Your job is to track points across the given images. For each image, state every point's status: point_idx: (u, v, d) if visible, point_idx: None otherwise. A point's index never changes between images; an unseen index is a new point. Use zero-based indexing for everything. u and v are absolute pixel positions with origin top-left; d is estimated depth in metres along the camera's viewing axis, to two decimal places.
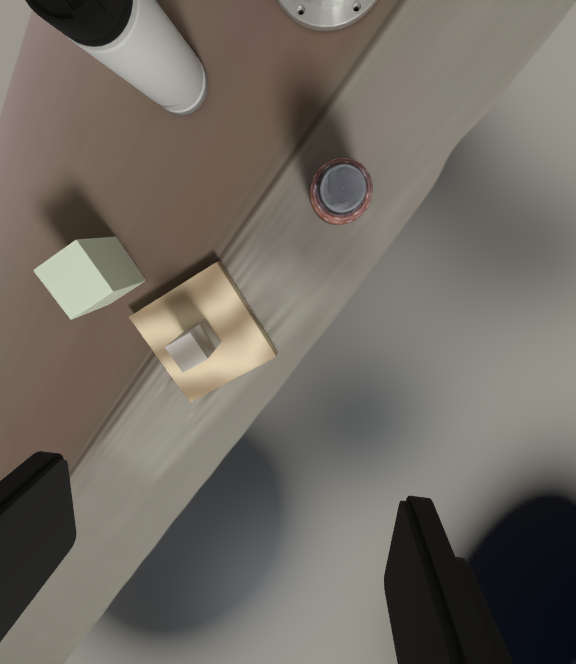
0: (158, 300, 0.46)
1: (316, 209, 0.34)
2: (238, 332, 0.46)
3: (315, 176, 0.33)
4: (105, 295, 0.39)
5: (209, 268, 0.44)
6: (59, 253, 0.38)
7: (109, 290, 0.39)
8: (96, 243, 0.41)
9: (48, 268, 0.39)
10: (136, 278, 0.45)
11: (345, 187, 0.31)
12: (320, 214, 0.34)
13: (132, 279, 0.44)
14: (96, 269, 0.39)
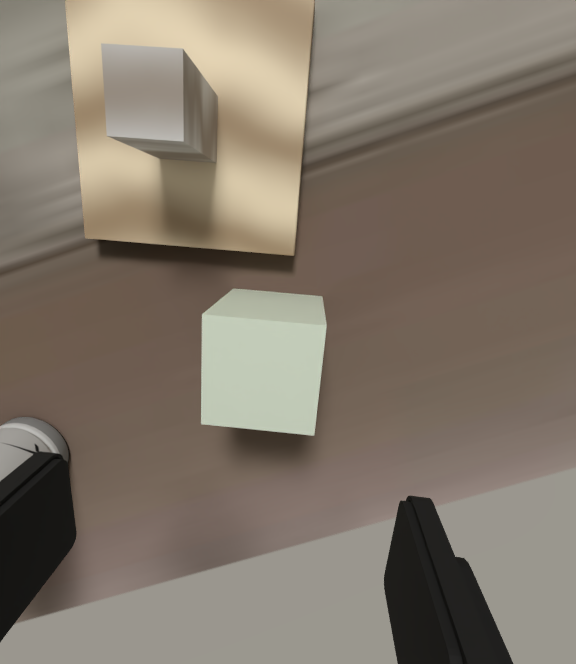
0: (221, 246, 0.24)
1: None
2: None
3: None
4: (222, 318, 0.18)
5: (103, 236, 0.24)
6: (246, 426, 0.20)
7: (208, 321, 0.19)
8: None
9: (285, 421, 0.20)
10: None
11: None
12: None
13: None
14: (203, 366, 0.19)
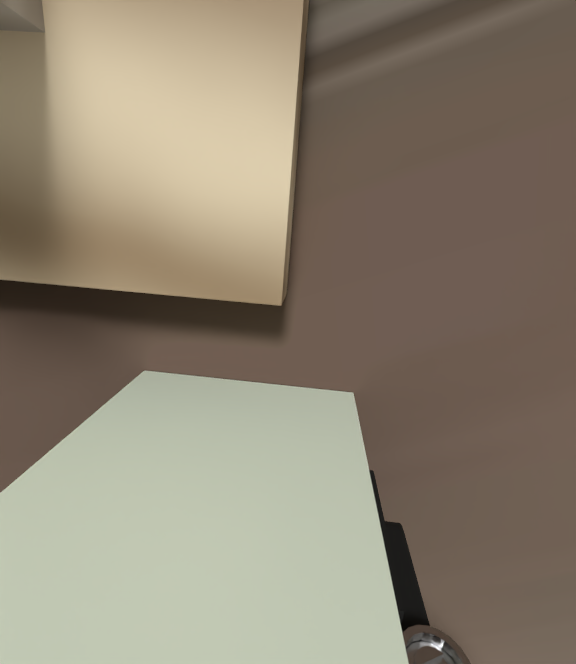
0: (87, 279, 0.09)
1: None
2: None
3: None
4: None
5: None
6: None
7: None
8: None
9: None
10: None
11: None
12: None
13: None
14: None
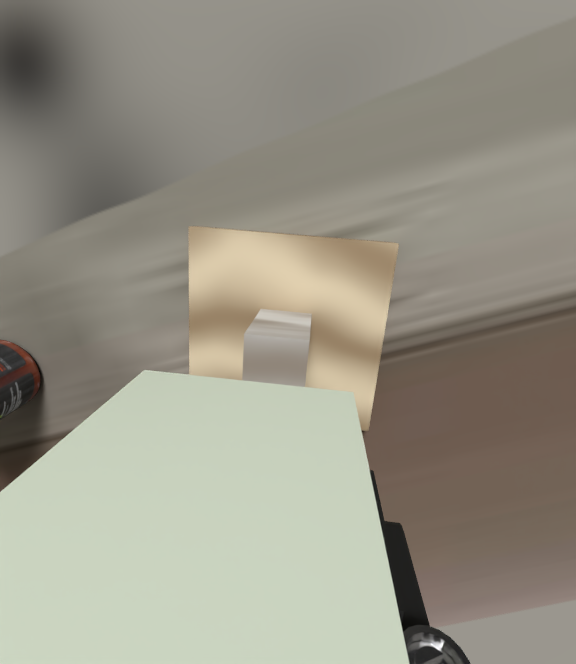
0: None
1: None
2: (225, 304, 0.26)
3: None
4: None
5: None
6: None
7: None
8: None
9: None
10: None
11: None
12: None
13: None
14: None
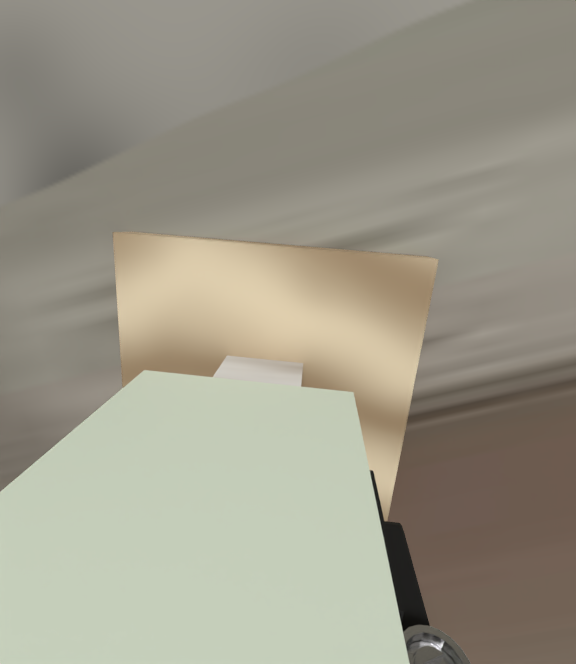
0: None
1: None
2: (173, 349, 0.17)
3: None
4: None
5: None
6: None
7: None
8: None
9: None
10: None
11: None
12: None
13: None
14: None
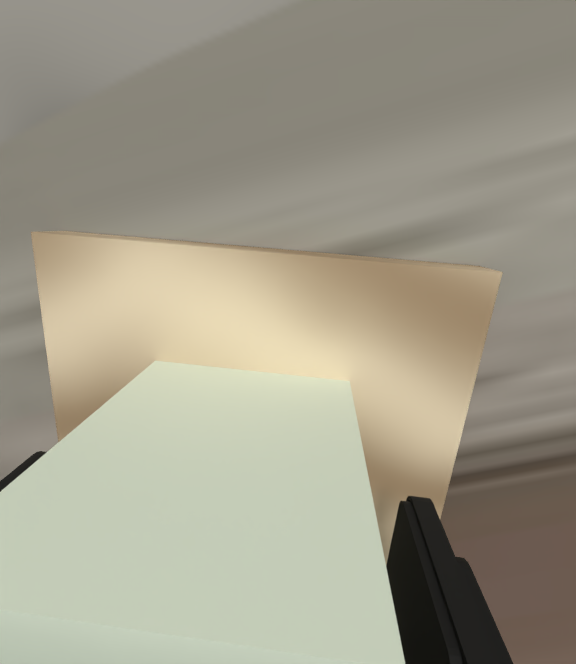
0: None
1: None
2: None
3: None
4: None
5: None
6: None
7: None
8: None
9: None
10: None
11: None
12: None
13: None
14: None
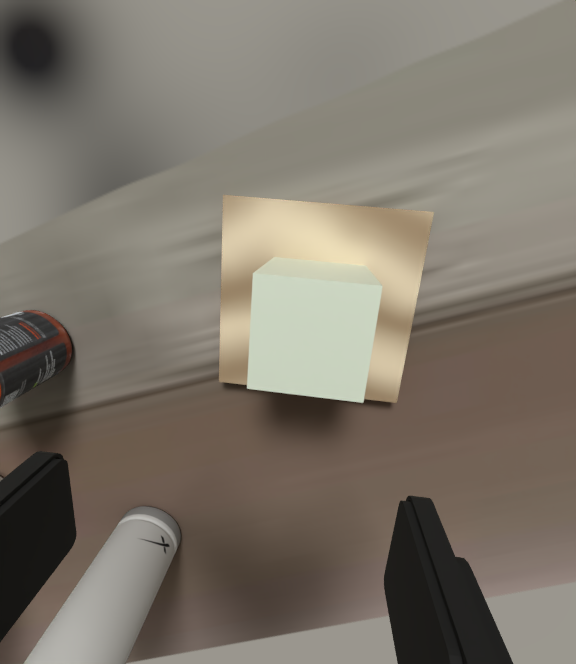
0: None
1: None
2: None
3: None
4: (273, 278, 0.18)
5: (234, 381, 0.29)
6: (293, 391, 0.20)
7: (258, 280, 0.18)
8: None
9: (334, 387, 0.19)
10: None
11: None
12: None
13: None
14: (252, 327, 0.19)
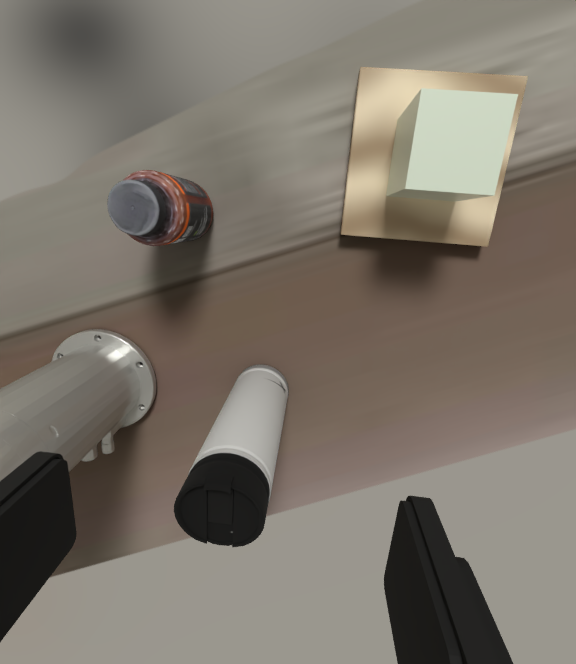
0: (437, 240, 0.35)
1: (181, 208, 0.29)
2: (382, 135, 0.32)
3: (165, 240, 0.29)
4: (437, 91, 0.24)
5: (354, 233, 0.35)
6: (441, 189, 0.26)
7: (425, 94, 0.25)
8: (397, 183, 0.29)
9: (473, 183, 0.26)
10: (400, 121, 0.30)
11: (129, 206, 0.26)
12: (180, 200, 0.28)
13: (403, 119, 0.29)
14: (415, 135, 0.25)
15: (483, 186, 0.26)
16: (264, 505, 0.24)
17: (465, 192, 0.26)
